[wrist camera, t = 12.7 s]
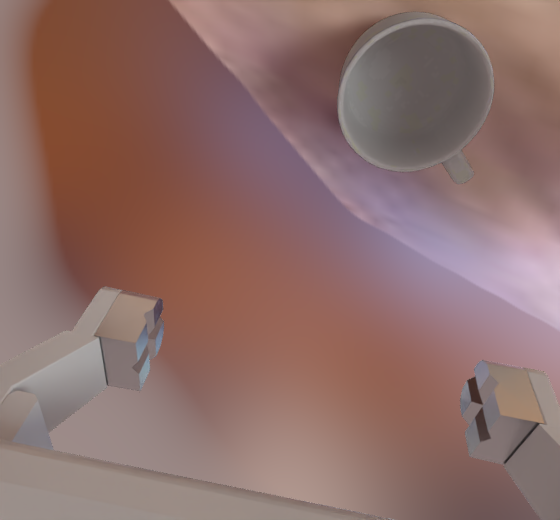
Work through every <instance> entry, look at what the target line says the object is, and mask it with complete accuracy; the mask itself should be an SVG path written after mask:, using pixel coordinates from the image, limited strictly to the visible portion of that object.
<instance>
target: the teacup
mask: <svg viewBox="0 0 560 520" xmlns="http://www.w3.org/2000/svg"><path fill="white" fill-rule="evenodd" d="M493 94H494V76H493V69H492V65H491V62H490V59H489V56H488V54H487V52H486V50H485V49H484V47H483V46H482V44H481V43H480V42H479V40H478V39H477V38H476V37H475V36H474V35H473V34H472V33H470V32H469V31H468V30H466V29H465V28H463V27H461V26H459V25H457V24H455V23H453V22H450V21H448V20H446V19H444V18H442V17H440V16H437V15H434V14H430V13H426V12H405V13H400V14H396V15H393V16H390V17H387V18H385V19H383V20H381V21H379V22H378V23H376V24H375V25H373V26H372V27H370V28H369V29H368V30H367V31H365V32H364V33H363V34H362V35H361V36H360V37H359V39H358V40H357V41H356V42H355V44H354V45H353V47H352V48H351V50H350V52H349V53H348V55H347V57H346V59H345V62H344V65H343V68H342V71H341V76H340V82H339V90H338V97H337V114H338V121H339V124H340V127H341V130H342V133H343V135H344V137H345V139H346V141H347V142H348V144H349V145H350V147H351V148H352V149H353V150H354V151H355V153H357V154H358V155H359V156H360V157H362V158H363V159H364V160H365V161H367V162H369V163H370V164H372V165H374V166H376V167H378V168H382V169H386V170H390V171H395V172H412V171H418V170H422V169H426V168H429V167H432V166H435V165H437V164H439V163H442V164H443V166H444V167H445V169H446V170H447V172H448V173H449V175H450V177H451V178H452V179H453V181H454V182H455V183H457V184H463V183H465V182H467V181H468V180H470V179H471V178H472V177H473V176H474V171H473V169H472V168H471V166H470V164H469V162H468V160H467V159H466V157H465V155H464V154H463V152H462V149H463V148H464V147H465V146H466V145H467V144H468V143H469V142H470V141H471V140H472V139H473V137H474V136H475V135H476V134H477V133H478V132H479V130H480V128H481V127H482V125H483V123H484V122H485V120H486V117H487V115H488V113H489V111H490V108H491V104H492V100H493Z"/></svg>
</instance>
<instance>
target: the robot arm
mask: <svg viewBox="0 0 560 520" xmlns="http://www.w3.org/2000/svg"><path fill="white" fill-rule="evenodd" d="M162 310H163V300H162V299H161V298H157V297H153V296H148V295H143V294H139V293H134V292H130V291H125V290H119V289H114V288H110V287H103V288H101V289H100V290H99V291H98V293H97V294H96V295H95V297H94V298H93V300H92V301H91V303H90V304H89V306H88V307H87V309H86V311H85V312H84V313H83V315H82V316H81V318H80V320H79V321H78V322H77V324H76V325H75V327H74V328H73V330H72V331H71V332H70V331H64V332H62V333H61V334H58V335H56V336H55V337H53V338H51V339H49V340H47V341H45V342H43V343H41V344H39V345H37V346H36V347H33V348H32V349H30V350H28V351H26V352H24V353H22V354H20V355H18V356H16V357H14V358H13V359H11V360H9V361H7V362H5V363H3V364H1V365H0V520H394V519H389V518H384V517H378V516H374V515H369V514H364V513H359V512H355V511H350V510H345V509H340V508H335V507H330V506H325V505H320V504H315V503H310V502H305V501H300V500H295V499H291V498H285V497H281V496H276V495H271V494H266V493H261V492H256V491H251V490H246V489H241V488H236V487H231V486H227V485H221V484H217V483H212V482H207V481H202V480H197V479H192V478H187V477H183V476H178V475H173V474H167V473H163V472H158V471H153V470H148V469H143V468H139V467H133V466H129V465H124V464H119V463H114V462H109V461H104V460H99V459H94V458H90V457H85V456H80V455H75V454H70V453H65V452H60V451H55V450H54V449H53V446H52V443H51V440H50V437H49V432H50V431H52V430H53V429H54V428H56V427H57V426H58V425H59V424H61V423H62V422H63V421H65V420H66V419H67V418H68V417H70V416H71V415H72V414H74V413H75V412H76V411H77V410H79V409H80V408H81V407H83V406H84V405H85V404H86V403H88V402H89V401H90V400H92V399H93V398H94V397H96V396H97V395H98V394H99V393H101V392H102V391H103V390H104V389H106V388H107V385H108V386H114V387H119V388H125V389H131V390H137V391H141V389H142V386H143V384H144V382H145V380H146V378H147V375H148V373H149V371H150V362H149V360H150V359H152V358H154V357H156V355H157V353H158V351H159V348H160V345H161V341H162V337H163V331H164V321H163V320H162V319H161V317H160V315H161V313H162ZM474 371H475V377H473V378H471V379H469V380H467V381H466V384H465V385H464V387H463V389H462V394H461V398H460V404H461V405H460V408H461V413H462V417H463V418H464V419H465V421H466V422H467V423H468V424H469V427H468V428H467V430H466V431H465V435H466V441H467V445H468V451H469V456H470V457H473V458H477V459H481V460H486V461H490V462H495V463H499V464H504V468H505V469H506V470H507V472H508V473H509V475H510V476H511V478H512V479H513V481H514V482H515V484H516V485H517V486H518V488H519V489H520V491H521V492H522V494H523V495H524V496H525V498H526V499H527V501H528V502H529V504H530V505H531V506H532V508H533V509H534V511H535V512H536V514H537V515H538V517H539V518H540V519H541V520H560V406H559V404H558V401H557V399H556V396H555V393H554V391H553V388H552V386H551V383H550V381H549V378H548V376H547V374H546V373H545V372H544V371H539V370H534V369H528V368H521V367H517V366H512V365H507V364H501V363H495V362H490V361H485V360H482V361H480V362H479V363H478V364H477V365H476V367H475V368H474Z"/></svg>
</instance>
